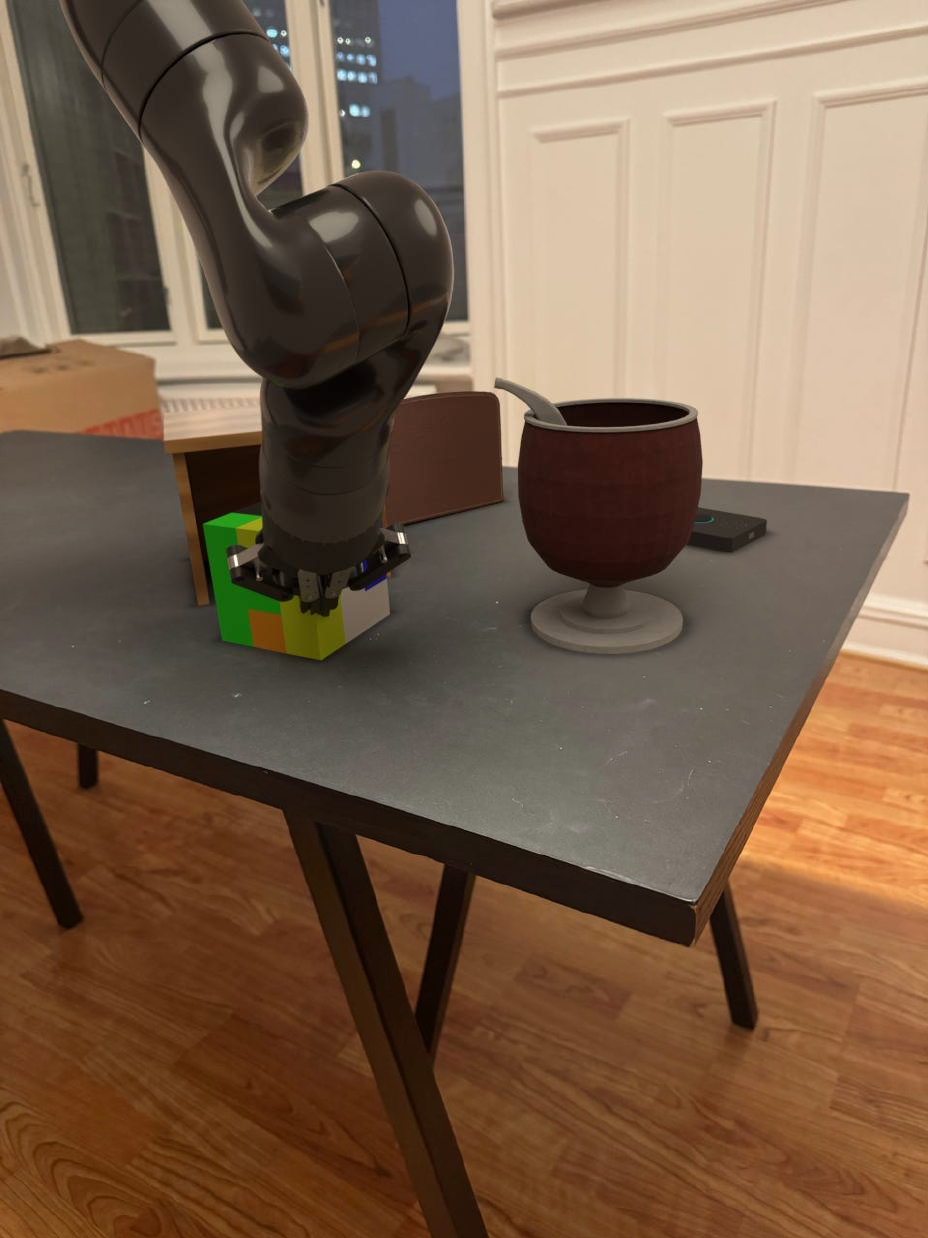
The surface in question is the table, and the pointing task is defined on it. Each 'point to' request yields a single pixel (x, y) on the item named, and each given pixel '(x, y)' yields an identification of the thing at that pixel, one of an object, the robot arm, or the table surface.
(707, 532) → the smart home device
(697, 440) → the mate gourd
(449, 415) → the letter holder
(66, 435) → the table surface
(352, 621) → the puzzle toy
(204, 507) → the shelf
